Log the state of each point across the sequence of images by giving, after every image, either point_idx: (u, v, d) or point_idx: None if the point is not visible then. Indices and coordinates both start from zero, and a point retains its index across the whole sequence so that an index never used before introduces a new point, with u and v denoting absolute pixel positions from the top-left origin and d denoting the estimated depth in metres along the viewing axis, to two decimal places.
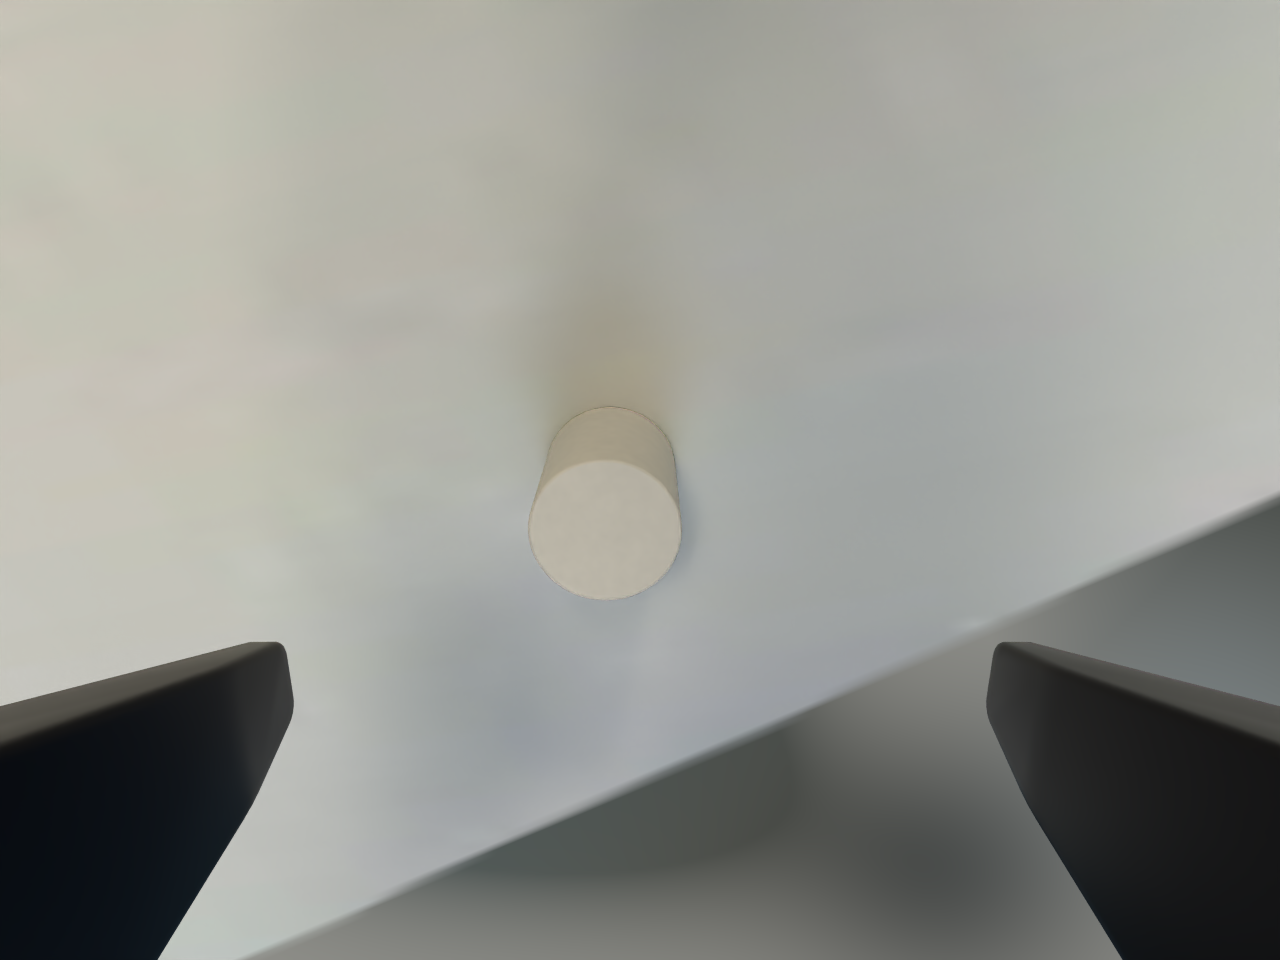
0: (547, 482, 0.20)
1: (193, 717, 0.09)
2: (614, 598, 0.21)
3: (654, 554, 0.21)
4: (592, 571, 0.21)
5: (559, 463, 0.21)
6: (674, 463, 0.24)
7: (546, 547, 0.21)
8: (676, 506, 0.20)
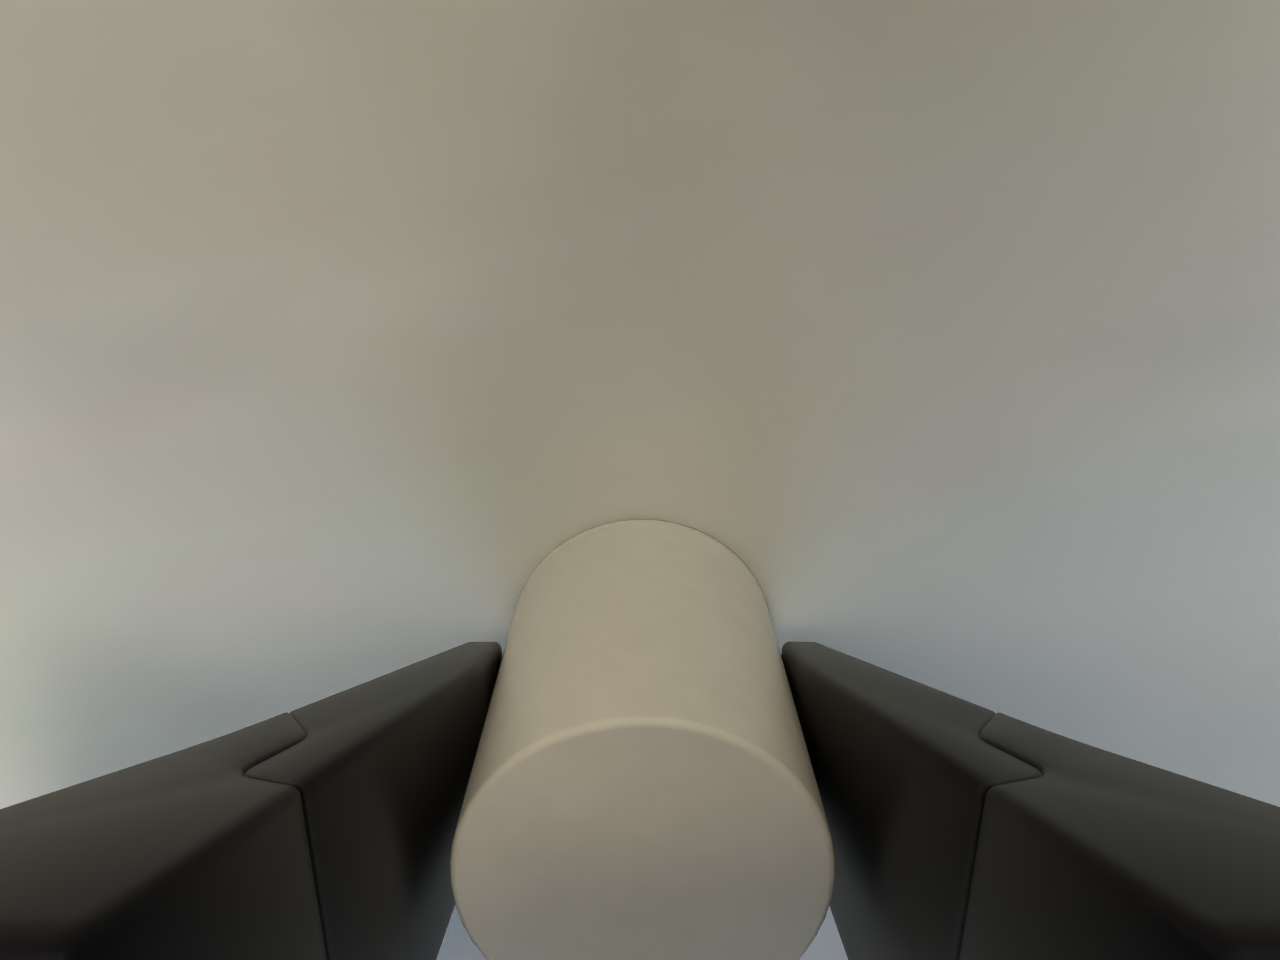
0: (492, 771, 0.08)
1: (460, 717, 0.09)
2: None
3: (767, 928, 0.08)
4: None
5: (524, 705, 0.08)
6: (774, 633, 0.12)
7: (497, 920, 0.08)
8: (823, 820, 0.08)
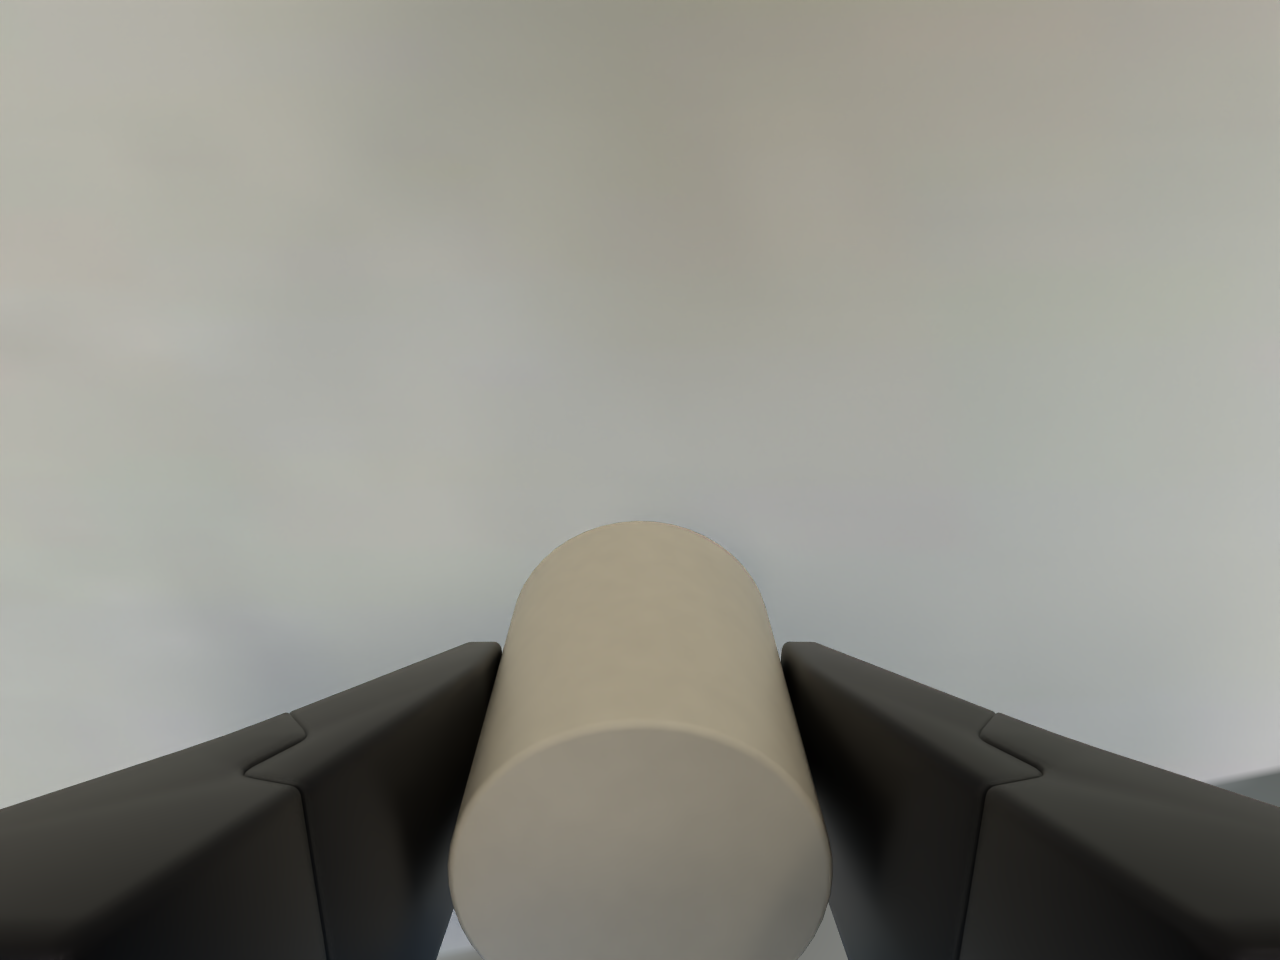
0: (490, 774, 0.08)
1: (460, 717, 0.09)
2: None
3: (765, 929, 0.08)
4: None
5: (523, 707, 0.08)
6: (772, 635, 0.12)
7: (495, 921, 0.08)
8: (821, 822, 0.08)
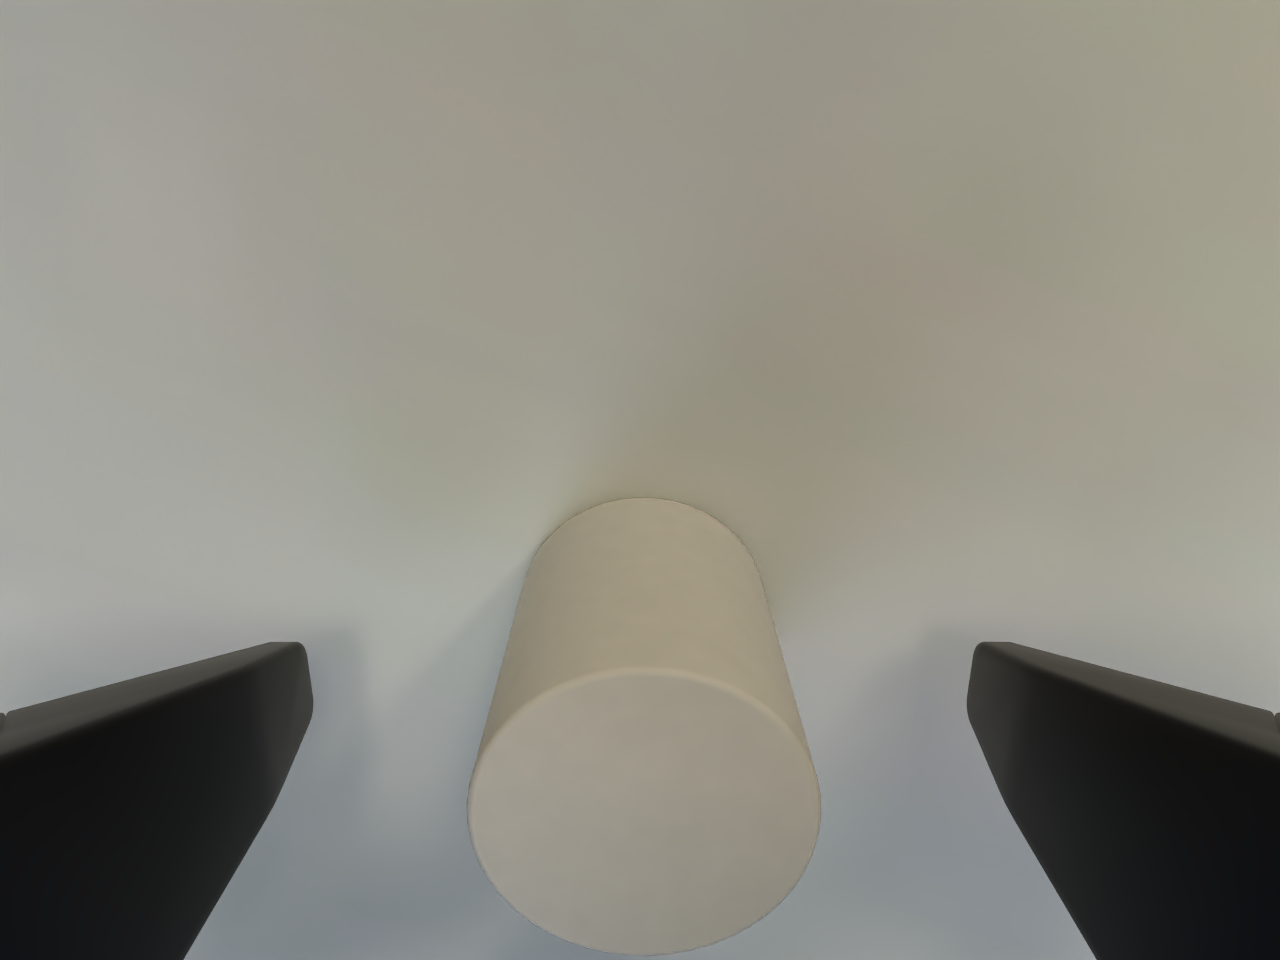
0: (506, 718, 0.09)
1: (218, 717, 0.09)
2: (667, 952, 0.09)
3: (759, 865, 0.09)
4: (616, 901, 0.09)
5: (535, 660, 0.09)
6: None
7: (511, 857, 0.09)
8: (810, 764, 0.09)
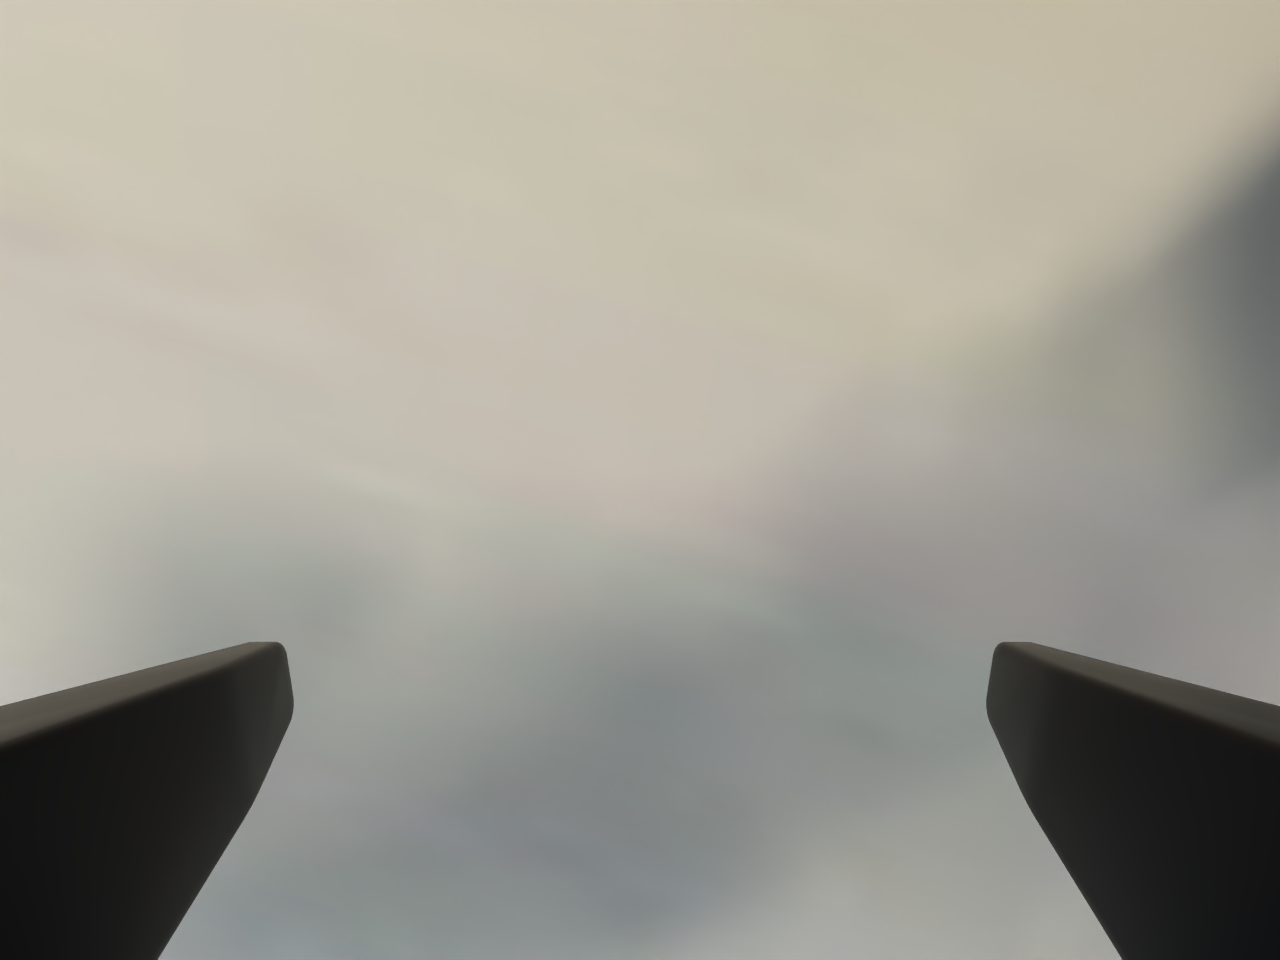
0: None
1: (193, 717, 0.09)
2: None
3: None
4: None
5: None
6: None
7: None
8: None
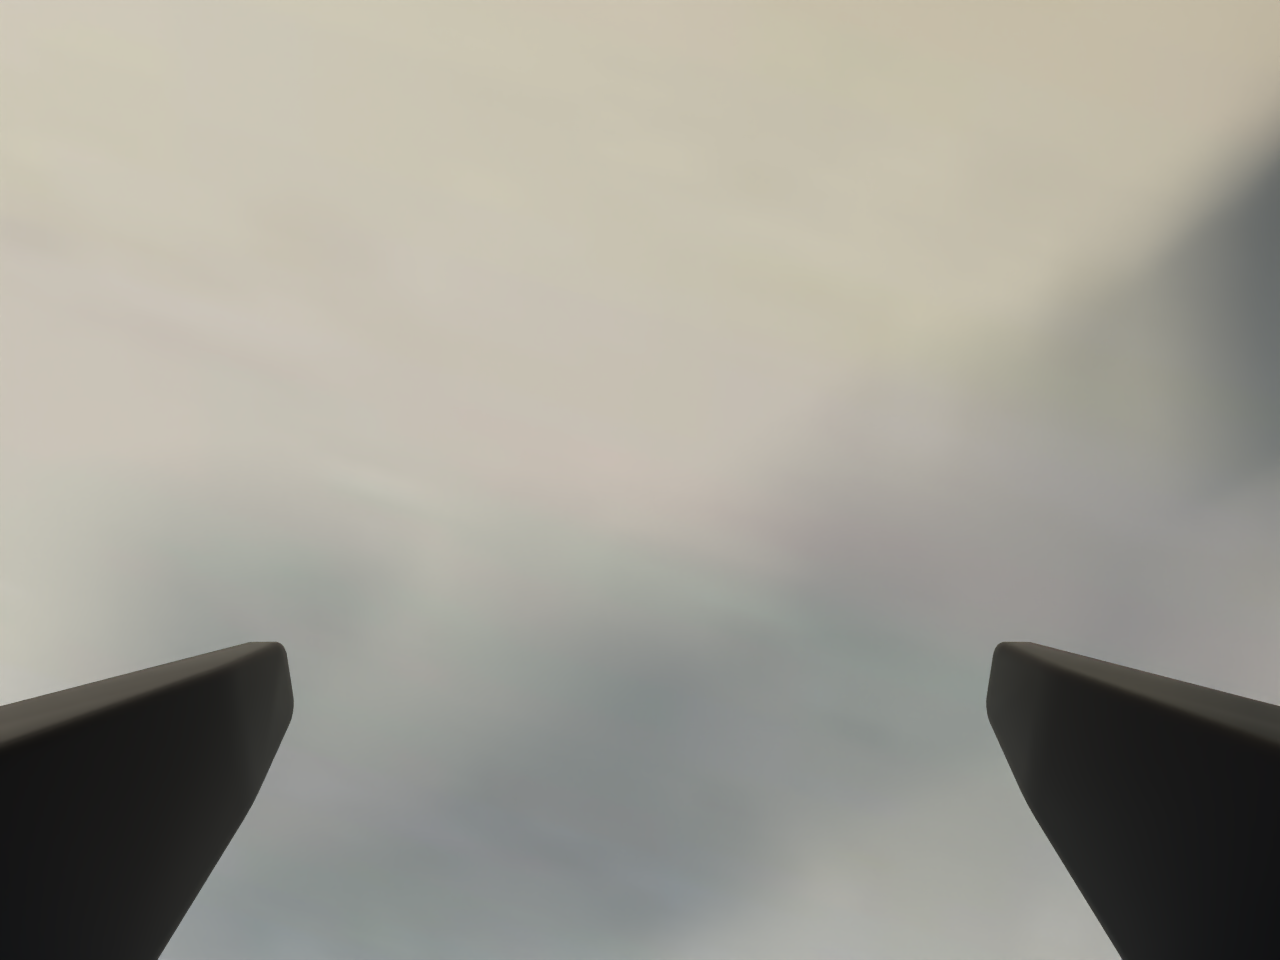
0: None
1: (193, 717, 0.09)
2: None
3: None
4: None
5: None
6: None
7: None
8: None
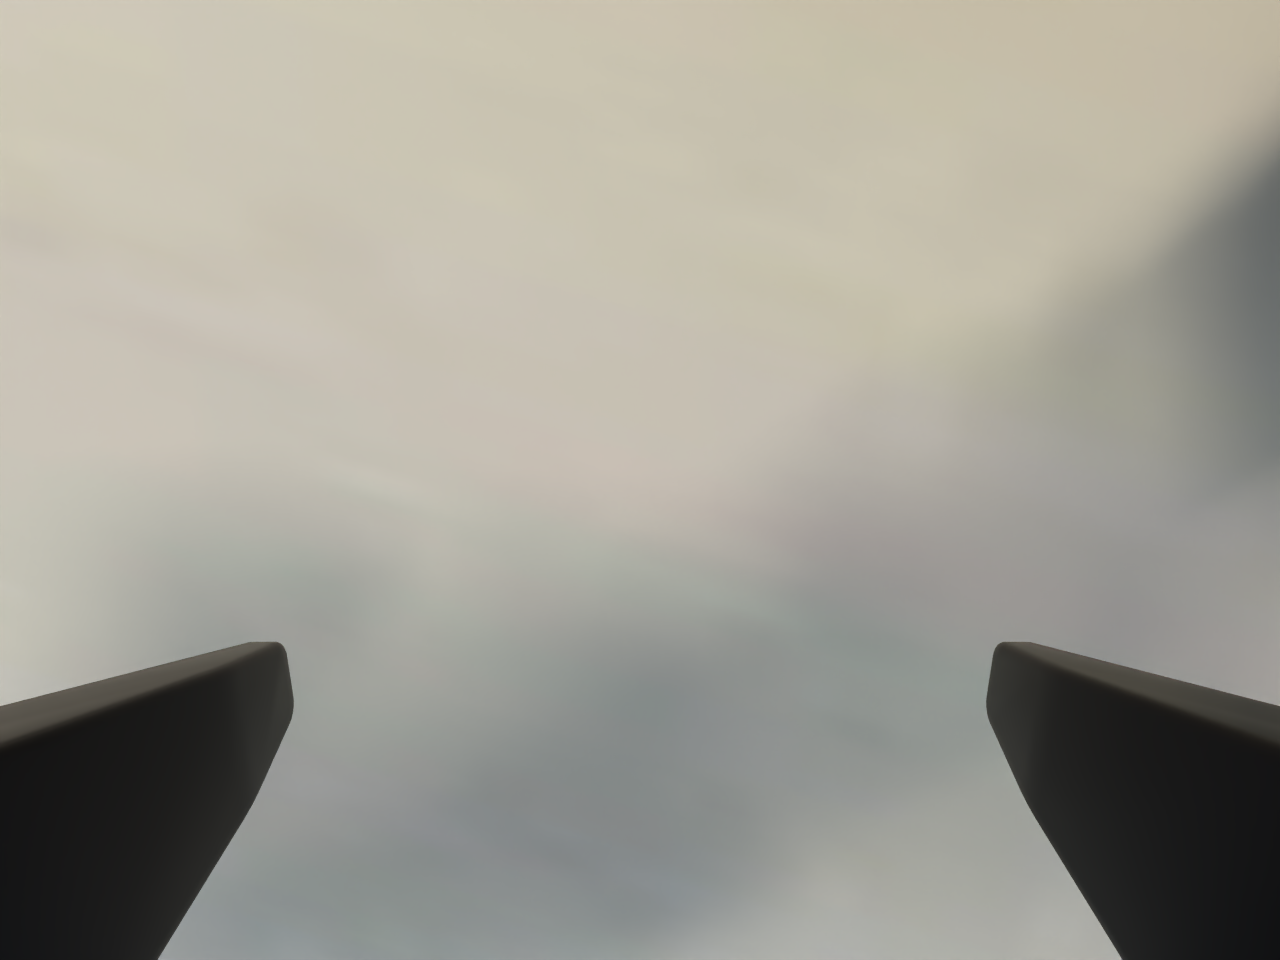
0: None
1: (193, 717, 0.09)
2: None
3: None
4: None
5: None
6: None
7: None
8: None
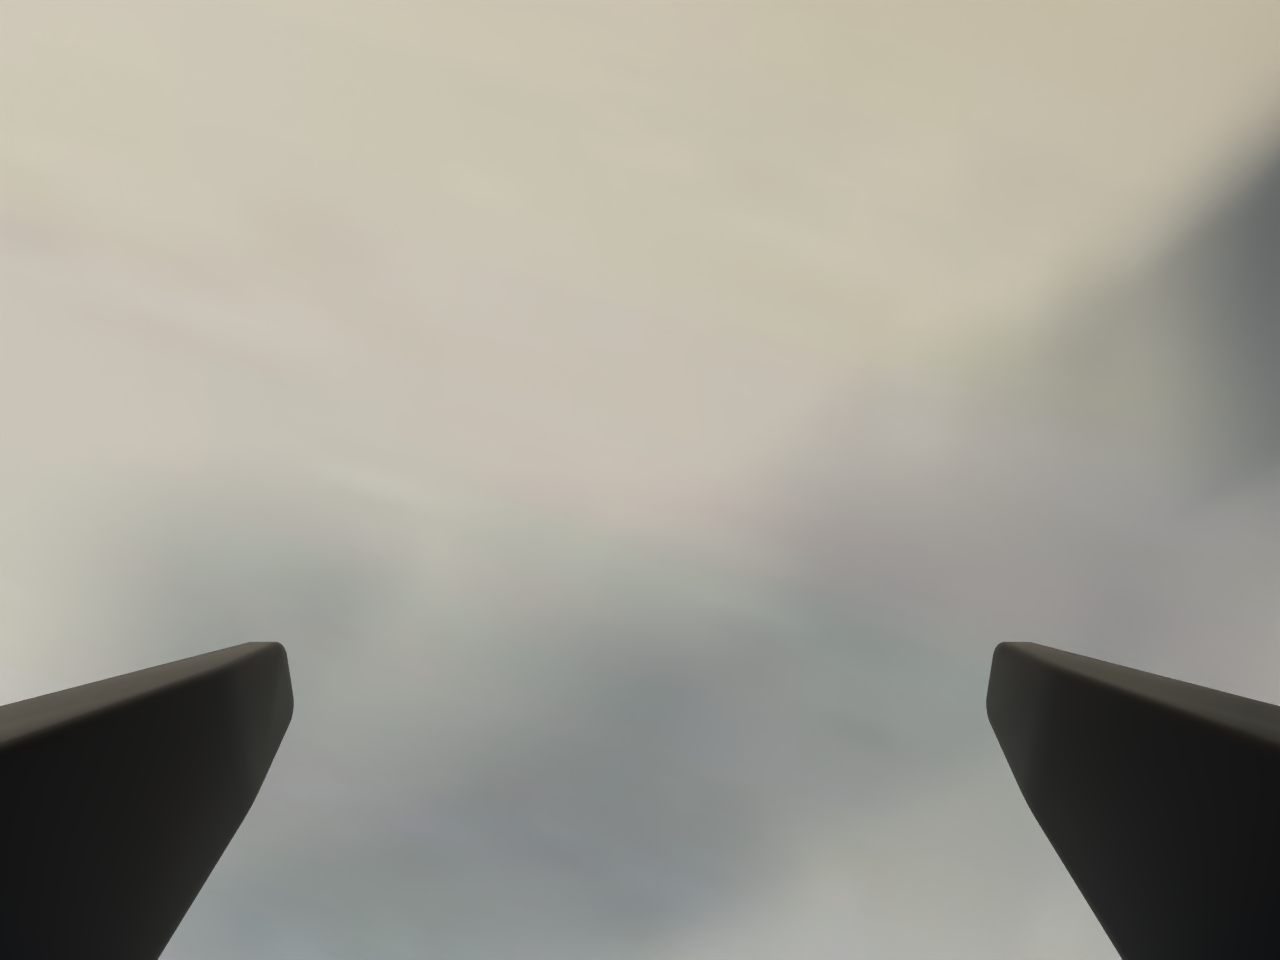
0: None
1: (193, 717, 0.09)
2: None
3: None
4: None
5: None
6: None
7: None
8: None
